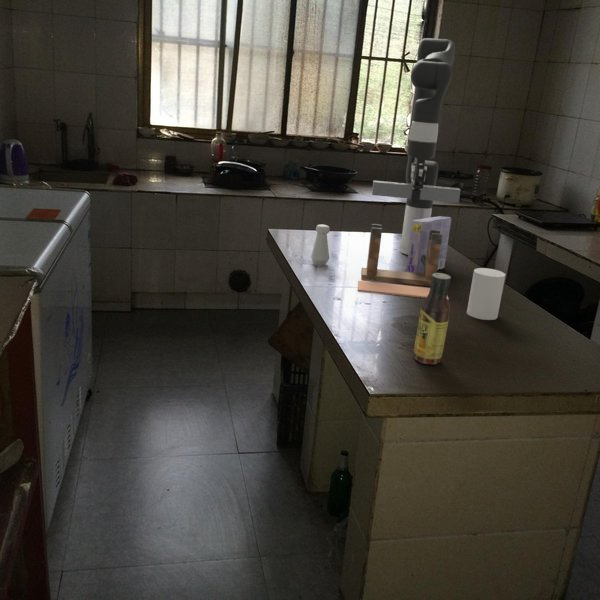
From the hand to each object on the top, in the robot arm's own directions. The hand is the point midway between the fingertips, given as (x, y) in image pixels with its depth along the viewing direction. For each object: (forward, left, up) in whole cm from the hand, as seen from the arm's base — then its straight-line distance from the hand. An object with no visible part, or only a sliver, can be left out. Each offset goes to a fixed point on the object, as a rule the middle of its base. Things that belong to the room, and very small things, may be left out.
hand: (414, 201), depth 183 cm
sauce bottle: (+23, +45, -27) cm, 57 cm away
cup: (-11, +23, -27) cm, 37 cm away
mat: (0, 0, -26) cm, 26 cm away
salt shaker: (+12, -30, -27) cm, 42 cm away
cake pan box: (-21, -17, -27) cm, 38 cm away
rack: (-6, -10, -26) cm, 29 cm away
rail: (0, 0, +1) cm, 1 cm away
